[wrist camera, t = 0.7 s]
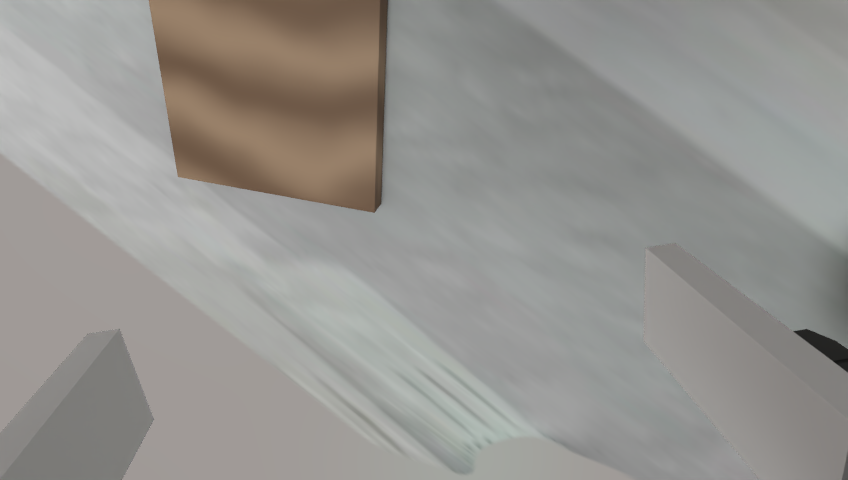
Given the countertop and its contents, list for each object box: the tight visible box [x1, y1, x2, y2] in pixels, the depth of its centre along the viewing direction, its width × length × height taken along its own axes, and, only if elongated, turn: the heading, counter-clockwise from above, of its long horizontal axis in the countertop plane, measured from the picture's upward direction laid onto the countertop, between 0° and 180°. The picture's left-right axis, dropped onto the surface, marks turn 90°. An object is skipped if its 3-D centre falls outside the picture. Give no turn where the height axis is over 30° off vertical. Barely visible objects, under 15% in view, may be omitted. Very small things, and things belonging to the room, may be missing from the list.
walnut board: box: [149, 0, 388, 213], centre depth 39 cm, size 16×16×2 cm
